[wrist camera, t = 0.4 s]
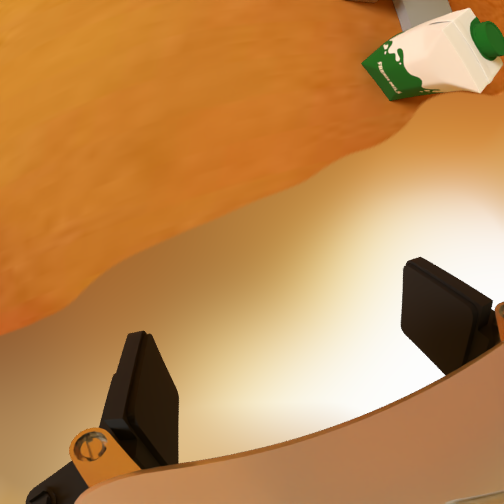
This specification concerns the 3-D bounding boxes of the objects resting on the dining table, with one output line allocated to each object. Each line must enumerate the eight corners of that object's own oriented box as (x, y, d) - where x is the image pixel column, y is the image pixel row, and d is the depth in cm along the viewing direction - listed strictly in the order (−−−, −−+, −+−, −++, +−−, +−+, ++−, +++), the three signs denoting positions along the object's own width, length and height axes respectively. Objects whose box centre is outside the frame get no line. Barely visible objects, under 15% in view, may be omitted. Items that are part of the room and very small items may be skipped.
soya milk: (420, 79, 37) (520, 65, 18) (389, 109, 38) (495, 101, 19) (387, 34, 34) (480, -3, 15) (351, 62, 35) (449, 21, 16)
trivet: (381, -27, 30) (389, -33, 27) (432, -15, 31) (440, -19, 28) (402, 31, 34) (412, 28, 32) (451, 40, 35) (460, 38, 33)
